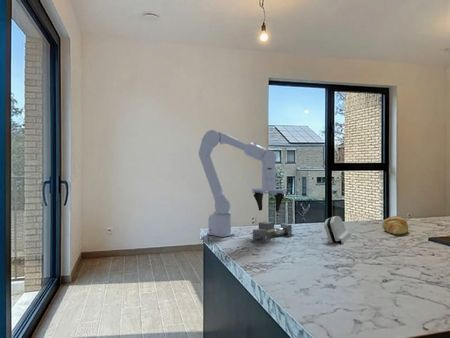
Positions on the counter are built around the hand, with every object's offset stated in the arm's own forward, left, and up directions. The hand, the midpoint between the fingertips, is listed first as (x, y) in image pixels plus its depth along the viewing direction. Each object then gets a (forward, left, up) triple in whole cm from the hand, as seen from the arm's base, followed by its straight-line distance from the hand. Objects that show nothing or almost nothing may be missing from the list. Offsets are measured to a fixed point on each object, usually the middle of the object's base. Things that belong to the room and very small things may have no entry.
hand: (268, 210), depth 153 cm
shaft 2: (+5, +1, -10) cm, 11 cm away
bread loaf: (+38, +40, -10) cm, 56 cm away
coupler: (+3, -6, -10) cm, 12 cm away
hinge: (+26, +9, -10) cm, 30 cm away
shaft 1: (+5, -12, -10) cm, 17 cm away
